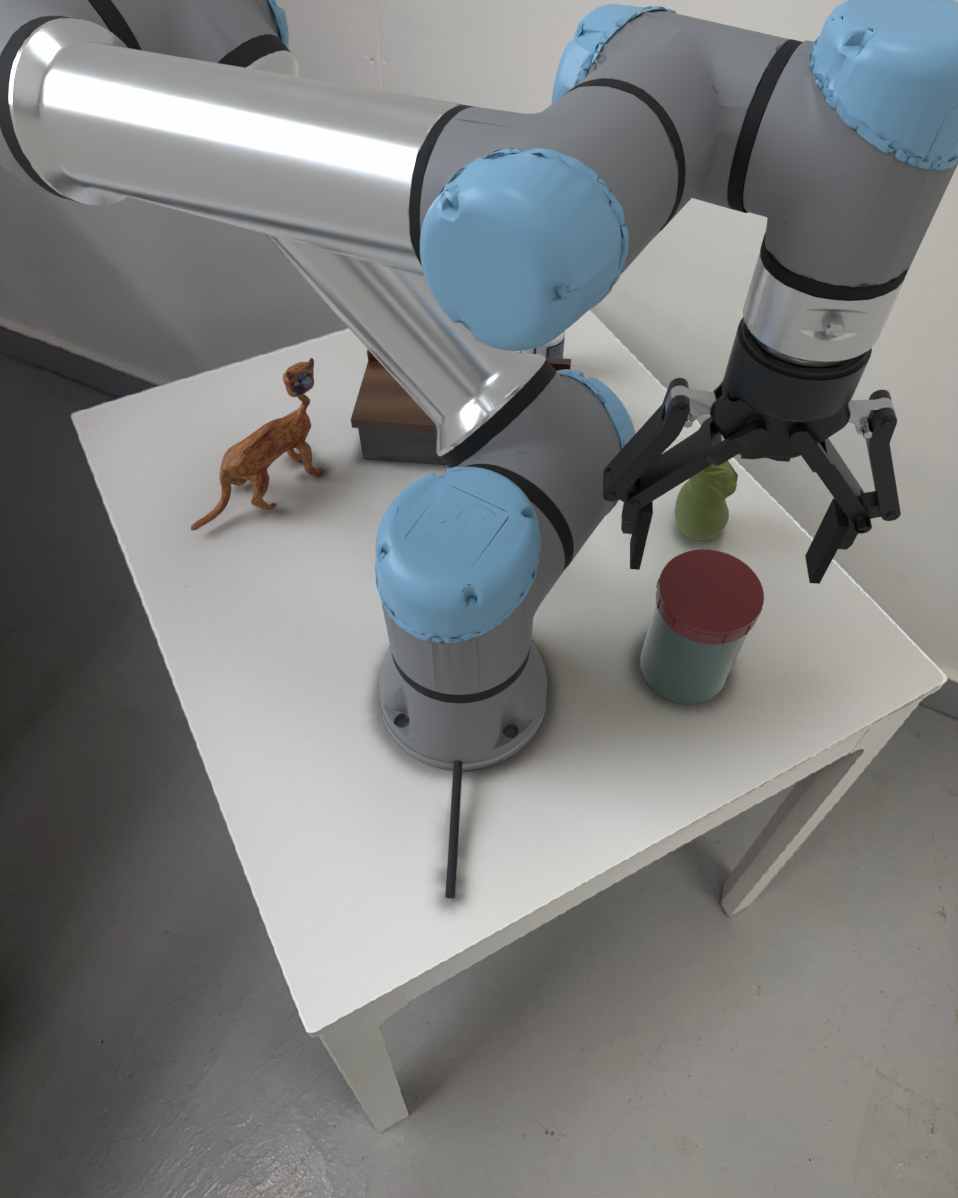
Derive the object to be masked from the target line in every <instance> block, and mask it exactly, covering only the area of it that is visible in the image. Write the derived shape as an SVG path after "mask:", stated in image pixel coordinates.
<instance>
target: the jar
mask: <svg viewBox="0 0 958 1198" xmlns="http://www.w3.org/2000/svg"><path fill="white" fill-rule="evenodd" d="M747 636H748V634H747V635H745V636H743V637H742V638H740V639H738V640H736V641H733V642H730V643H726V644H724V645H723V644H718V645H712V644H703V643H698V642H695V641H692V640H689V639H687V638H685V637H683V636H681V635H680V634H678V633H676V632H675V631H674V630H673V629H671V628H670V627H669V626H668V625H667V624H666V622H665V621H664V620H663V618H662V617H661V615H660V613H659V611H658V609H657V605H656V601H655V602H654V606H653V608H652V613H651V617H650V621H649V624H648V627H647V631H646V635H645V639H644V642H643V646H642V649H641V653H640V656H639V668H640V671H641V672H640V673H641V675H642V678H643V679H644V681H645V682H646V684H647V686H649V688H650V689H651V690H653V692H654V693H656V694H657V695H658V696H660V697H662V698H663V699H666V700H668V701H671V702H673V703H676V704H682V705H696V704H701V703H704V702H707V701H709V700H711V699H713V698H714V697H716V696H717V695H718V694H719V693H720V692H721V690H722V689H724V686H725V684H726V682H727V679H728V677H729V676H730V673H731V671H732V669H733V667H734V664H735V662H736V660H737V657H738V655H739V653H740V651H741V649H742V647H743V645H744V642H745V640H746V638H747Z"/></svg>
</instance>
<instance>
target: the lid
mask: <svg viewBox="0 0 958 1198" xmlns="http://www.w3.org/2000/svg"><path fill="white" fill-rule="evenodd" d="M655 588H656V591H655V602H656V605H657V609H658V611H659V613H660V615H661V617H662V618H663V620H664V621H665V622H666V624H667V625H668V626H669V627H670V628H671V629H673V630H674V631H675V632H676V633H678V634H680V635H681V636H683V637H685V638H687V639H689V640H692V641H695V642H698V643H703V644H712V645H718V644H723V645H724V644H726V643H730V642H733V641H736V640H738V639H740V638H742V637H743V636H745V635H747V636H748V634H749V632H750V631H752V629H753V628H754V626H755V624H756V622H757V620H758V619H759V617H760V615H761V612H762V611H763V606H764V602H765V593H764V588H763V585H762V583H761V580H760V579H759V577H758V575H757V574H756V572H755V571H754V570H753V569H752V568H751V567H750V566H749V565H748V564H747V563H745V562H744V561H742V560H741V559H739V558H738V557H736V556H734V555H732V554H729V553H727V552H724V551H720V550H715V549H709V548H707V549H706V548H705V549H704V548H703V549H702V548H699V549H692V550H687V551H684V552H682V553H679V554H678V555H675V556H674V557H673V558H672V559H670V560H669V561H668V562H667V563H666V564H665V566H664V567H663V569H662V570H661V573H660V575H659V577H658V578H657V582H656V586H655Z"/></svg>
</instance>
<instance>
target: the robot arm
mask: <svg viewBox="0 0 958 1198" xmlns="http://www.w3.org/2000/svg"><path fill="white" fill-rule="evenodd" d="M289 39H290V34H289V23H288V18H287V14H286V10H285V8H282V7H281V6H279V5H278V3H277V0H0V165H1V166H2V167H3V168H4V169H6V170H7V171H8V172H10V173H11V174H12V175H14V176H15V177H16V178H18V179H19V180H21V181H23V182H24V183H25V184H27V185H29V186H31V187H33V188H35V189H37V190H39V191H42V192H44V193H46V194H49V195H52V196H55V197H58V198H60V199H65V200H69V201H71V202H75V203H79V204H82V205H88V206H94V207H95V206H96V207H97V206H101V207H102V206H104V207H105V206H108V205H115V204H116V203H120V202H121V201H124V200H125V199H126V198H130V199H134V200H136V201H141V202H145V203H148V204H152V205H156V206H159V207H162V208H165V209H167V208H168V209H170V210H174V211H178V212H181V213H184V214H189V215H193V216H196V217H200V218H204V219H208V220H211V221H215V222H219V223H223V224H227V225H231V226H234V227H237V228H241V229H245V230H249V231H253V232H255V233H256V232H257V233H260V234H264V235H265V236H266V238H267V239H268V241H270V242H271V243H272V244H273V246H274V247H275V248H276V249H277V250H278V251H279V252H280V253H281V254H282V255H283V256H284V257H285V259H286V260H287V261H288V263H290V264H291V265H292V267H293V268H294V269H295V270H296V271H297V272H298V273H299V274H300V276H301V277H302V278H303V279H304V280H305V281H306V282H307V283H308V284H309V286H311V288H312V289H313V290H314V291H315V292H316V293H317V294H318V296H320V298H321V299H322V300H323V301H324V302H325V303H326V304H327V306H329V308H330V309H331V310H332V311H333V312H334V313H335V314H336V316H337V317H338V318H339V319H340V320H341V321H342V323H344V324H345V326H346V327H347V328H348V329H349V330H350V331H351V332H352V333H353V334H354V335H355V337H356V338H357V339H358V340H359V341H360V342H361V343H362V345H363V346H364V347H365V348H366V349H367V350H369V351H370V352H371V353H372V354H373V355H374V357H375V358H376V359H377V360H378V361H379V362H380V363H381V364H382V365H383V367H384V368H385V369H386V370H387V371H388V372H389V373H390V374H391V375H392V377H393V378H394V379H395V380H396V381H397V382H398V383H399V384H400V385H401V387H402V388H403V389H404V390H405V391H406V392H407V393H408V394H409V395H410V397H411V398H412V399H413V400H414V401H415V402H416V403H417V404H418V405H419V407H420V408H421V409H422V410H423V411H424V412H425V413H426V414H427V416H428V417H429V418H430V419H431V420H432V421H433V422H434V423H435V426H436V430H437V441H436V453H437V454H438V456H439V457H440V458H441V459H442V460H443V461H444V462H445V463H446V464H447V465H446V466H447V468H446V470H445V474H442V475H437V474H435V473H434V472H430V473H428V474H426V475H423V476H421V477H419V478H417V479H416V480H415V481H413V482H412V483H410V484H409V485H407V486H406V487H405V488H404V489H402V490H401V491H400V492H399V493H398V494H397V495H396V496H395V497H394V499H393V500H392V502H391V503H390V504H389V506H388V507H387V509H386V510H385V512H384V514H383V516H382V518H381V520H380V523H379V526H378V529H377V532H376V538H375V563H374V574H375V584H376V589H377V592H378V596H379V598H380V602H381V607H382V612H383V616H384V621H385V626H386V627H385V628H386V632H387V636H388V642H389V647H388V650H387V652H386V654H385V657H384V660H383V661H382V665H381V668H380V671H379V676H378V690H377V694H378V703H379V708H380V713H381V716H382V719H383V723H384V724H385V726H386V729H387V730H388V732H389V734H390V735H391V737H392V738H393V739H394V741H395V742H396V743H397V744H398V745H399V747H401V748H402V749H403V750H404V751H405V752H406V753H408V754H410V755H411V756H412V757H414V758H415V759H417V760H419V761H421V762H423V763H425V764H427V765H430V766H433V767H435V768H436V767H437V768H441V769H443V770H444V769H445V770H451V771H452V784H451V798H450V799H451V800H450V818H449V833H448V834H449V835H448V849H447V863H446V865H447V867H446V880H445V894H444V897H445V898H446V899H455V898H456V885H457V871H458V870H457V869H458V855H459V853H458V852H459V836H460V835H459V834H460V816H461V800H462V799H461V798H462V780H463V771H471V770H479V769H484V768H488V767H491V766H494V765H497V764H499V763H502V762H504V761H506V760H507V759H509V758H511V757H512V756H514V755H516V754H517V753H518V752H520V751H521V750H522V749H523V748H524V747H525V746H526V745H527V744H529V743H530V741H531V740H532V739H533V737H534V736H535V735H536V733H537V732H538V730H539V728H540V726H541V724H542V723H543V720H544V717H545V714H546V710H547V704H548V696H549V682H548V676H547V672H546V665H545V663H544V660H543V658H542V656H541V654H540V652H539V650H538V648H537V646H536V644H535V642H534V641H533V638H532V637H533V625H534V618H535V615H536V613H537V611H538V609H539V608H540V605H541V604H542V603H543V601H544V600H545V598H546V597H547V595H548V594H550V592H551V590H552V589H553V588H554V586H555V584H556V583H557V582H558V581H559V579H560V577H561V576H562V575H563V573H564V572H565V571H566V569H568V567H569V566H570V565H571V563H572V562H573V561H574V559H575V558H576V556H577V555H578V554H579V552H580V551H581V550H582V548H583V547H584V545H585V544H586V542H587V541H588V540H589V539H590V537H591V535H592V534H593V533H594V532H595V530H596V529H597V528H598V526H599V525H600V523H601V522H602V521H603V520H604V518H605V517H606V516H608V515H609V514H610V513H611V512H612V511H613V509H614V508H615V507H616V506H617V504H618V502H619V501H620V502H622V503H623V504H622V510H621V514H620V515H621V516H620V517H621V521H620V524H621V525H620V529H621V533H622V534H623V535H625V534H626V535H631V536H630V541H629V570H638V571H640V570H641V566H642V561H643V557H644V553H645V548H646V546H647V545H646V544H647V540H648V535H649V531H650V527H651V524H652V519H653V515H654V504H653V503H654V501H655V500H657V499H659V498H661V497H662V496H663V495H665V494H667V493H668V492H670V491H671V490H673V489H674V488H676V487H678V486H679V485H681V484H683V483H684V482H687V481H688V480H689V478H691V477H693V476H694V475H696V474H697V473H699V472H701V471H702V470H704V469H705V468H707V467H709V466H710V465H715V466H719V465H721V464H723V463H724V462H726V461H728V462H729V460H731V459H733V458H734V457H736V456H738V455H739V456H740V459H742V460H760V459H768V460H772V461H775V462H785V463H790V461H791V459H795V458H798V457H801V458H802V459H803V461H804V462H805V463H806V465H807V466H808V468H809V469H810V471H811V472H812V473H816V475H817V476H818V477H819V479H820V480H821V481H822V483H823V484H824V486H825V487H826V489H827V490H828V491H829V493H830V494H831V496H832V497H833V498H832V500H831V502H830V503H829V505H828V508H827V510H826V512H825V513H824V516H823V518H822V520H821V522H820V524H819V526H818V528H817V530H816V532H815V534H814V536H813V538H812V541H811V542H810V545H809V547H808V549H807V551H806V553H805V555H804V557H805V564H806V570H807V577H808V583H809V584H817V585H818V584H821V583H822V580H823V579H824V576H825V575H826V573H827V571H828V569H829V567H830V566H831V563H832V561H833V559H834V558H835V556H836V554H837V552H838V550H845V551H847V550H848V549H850V548H851V547H852V546H853V544H854V542H855V540H856V538H857V537H858V535H863V534H867V533H869V532H870V531H872V529H873V525H872V521H871V520H872V519H876V518H881V519H882V521H885V522H893V521H896V520H898V519H899V518H900V517H901V514H902V512H901V507H900V499H899V493H898V489H897V488H898V486H897V481H896V475H895V469H894V462H893V455H892V449H891V444H890V443H891V441H892V438H893V435H894V433H895V430H896V427H897V424H898V418H897V414H896V411H895V407H894V404H893V400H892V396H891V393H890V392H889V390H887V389H877V390H875V391H874V392H872V393H871V394H870V395H869V397H868V399H853V398H854V397H853V396H854V394H855V392H856V390H857V388H858V386H859V383H860V381H861V379H862V377H863V375H864V373H865V370H866V368H867V366H868V363H869V361H870V359H871V357H872V353H873V347H874V345H875V344H876V343H877V342H878V340H879V338H880V335H881V333H882V331H883V329H884V326H885V325H886V322H887V320H888V319H889V316H890V314H891V311H892V309H893V306H894V304H895V302H896V300H897V298H898V296H899V294H900V291H901V289H902V287H903V284H904V283H905V280H906V277H907V274H908V272H909V270H910V268H911V266H912V264H913V261H914V259H915V258H916V255H917V253H918V251H919V249H920V247H921V245H922V243H923V240H924V238H925V236H926V234H927V231H928V229H929V227H930V225H931V223H932V221H933V218H934V216H935V215H936V213H937V211H938V208H939V206H940V204H941V202H942V199H943V197H944V195H945V193H946V191H947V189H948V186H949V185H950V183H951V180H952V178H953V176H954V174H955V171H956V170H957V167H958V1H956V0H845V1H843V2H841V3H840V4H838V5H837V6H835V7H834V9H832V11H831V12H830V14H829V15H828V16H827V17H826V19H825V21H824V23H823V27H822V28H821V32H820V34H819V35H818V36H817V37H816V38H815V40H814V41H813V40H807V39H806V40H804V41H801V40H797V39H793V38H787V37H781V36H778V35H773V34H768V33H765V32H760V31H756V30H751V29H746V28H742V27H738V26H732V25H729V24H724V23H719V22H715V21H711V20H706V19H703V18H697V17H693V16H689V15H684V14H680V13H677V12H676V10H674V9H671V8H666V7H664V6H661V5H649V6H646V7H643V6H635V5H627V4H618V3H607V4H603V5H599V6H598V7H597V6H596V7H595V8H594V9H592V10H591V11H589V12H588V13H587V14H586V15H585V16H584V17H583V18H582V19H581V20H580V21H579V23H578V24H577V26H576V29H575V32H574V36H573V40H570V41H568V43H567V44H566V45H565V47H564V49H563V52H562V55H561V57H560V59H559V63H558V65H557V69H556V73H555V78H554V82H553V88H552V94H551V101H550V102H551V103H550V105H549V106H547V107H546V108H545V109H543V110H542V111H539V112H533V113H522V112H516V111H510V110H502V109H494V108H488V107H481V106H474V105H468V104H461V103H458V102H452V101H447V100H440V99H435V98H429V97H421V96H417V95H416V96H415V95H410V94H404V93H399V92H391V91H386V90H381V89H374V88H368V87H363V86H357V85H352V84H351V85H349V84H345V83H338V82H333V81H327V80H321V79H315V78H309V77H304V76H300V64H299V60H298V59H297V58H296V57H295V55H294V54H293V53H292V52H291V50H290V49H289V43H290V42H289V41H290V40H289ZM692 199H694V200H698V201H701V202H704V203H708V204H711V205H715V206H719V207H721V208H725V209H729V210H733V211H737V212H740V213H744V214H749V213H750V214H753V215H756V216H761V217H764V218H767V219H766V227H765V232H764V235H763V238H762V241H761V245H760V248H759V253H758V256H757V260H756V263H755V266H754V271H753V273H752V277H751V281H750V284H749V286H748V290H747V294H746V297H745V301H744V303H743V308H742V318H741V319H740V320H739V323H738V325H737V328H736V333H735V336H734V340H733V343H732V346H731V350H730V354H729V358H728V361H727V364H726V368H725V372H724V374H723V375H724V376H723V379H722V381H721V382H720V383H719V384H718V386H717V387H715V389H714V390H713V391H708V390H707V391H706V390H700V389H694V388H690V387H689V386H690V385H689V381H688V380H687V379H685V378H684V377H675V378H674V379H672V380H670V382H669V384H668V386H667V389H666V392H665V395H664V398H663V400H662V403H661V404H660V405H659V407H658V408H657V409H656V410H654V411H655V412H653V414H652V415H650V417H649V418H648V419H647V420H646V421H645V422H644V423H643V425H642V426H641V427H640V428H639V430H637V431H636V429H635V426H634V423H633V421H632V418H631V416H630V413H629V412H628V409H627V408H626V406H625V405H624V403H623V402H622V400H621V399H620V398H619V396H618V395H616V393H615V392H614V391H613V390H612V389H611V388H610V387H609V386H608V385H606V384H605V383H604V382H603V381H601V380H600V379H598V378H596V377H594V376H593V375H592V376H589V377H586V376H585V375H584V372H582V371H580V370H576V369H571V368H570V369H564V370H559V371H556V370H555V369H554V368H553V367H552V365H551V364H550V363H549V362H548V361H547V359H546V358H545V357H544V356H543V355H538V354H524V353H520V351H523V350H529V349H534V348H538V347H540V346H543V345H545V344H547V343H549V342H551V341H552V340H554V339H555V338H557V337H558V336H559V335H560V334H562V333H563V332H564V331H565V332H566V331H567V330H568V329H569V328H571V327H572V326H573V325H574V324H575V323H576V322H577V321H578V320H580V319H581V318H582V317H583V316H585V314H586V313H587V312H589V311H590V310H592V309H593V308H595V307H596V306H597V305H599V303H601V302H602V301H603V300H604V299H605V298H606V297H607V296H608V295H609V294H610V293H611V292H612V290H613V287H614V286H615V284H617V282H618V281H619V280H620V278H621V275H622V274H624V272H625V271H626V270H627V269H628V268H629V266H631V264H632V263H633V262H634V261H635V260H636V259H637V258H638V256H640V254H641V253H642V252H643V251H644V249H646V247H647V246H648V245H649V244H650V243H651V242H652V241H653V240H654V238H656V236H657V235H658V234H659V233H660V232H661V231H663V230H664V229H665V228H666V227H667V226H668V224H669V223H671V221H672V220H673V219H674V218H675V217H676V216H677V215H678V214H679V212H681V210H682V209H683V208H684V207H685V206H686V205H687V204H688V203H689V202H690V201H691V200H692ZM705 414H706V415H709V417H708V418H706V419H705V420H704V421H702V423H701V425H700V427H699V428H698V430H696V431H694V432H693V433H692V434H690V435H688V436H687V437H685V438H684V439H682V440H681V441H680V442H678V443H676V444H675V445H674V446H672V447H670V446H671V445H672V444H673V443H674V442H675V441H676V439H678V437H679V436H680V434H681V433H682V431H683V429H684V428H686V429H687V428H691V427H692V426H693V424H694V423H695V421H696V420H697V418H699V417H700V416H702V415H705ZM848 423H850V424H853V425H854V428H855V431H856V433H857V434H859V435H862V437H863V438H864V439H865V443H866V449H867V455H868V461H869V464H870V470H871V477H872V481H873V486H874V490H873V491H866V492H865V491H864V489H863V487H862V486H861V485H860V483H859V482H858V479H856V477H855V475H854V474H853V473H852V471H851V469H850V468H849V466H848V465H847V464H846V462H845V460H844V459H843V457H842V456H841V455H840V454H839V453H840V452H838V450H837V449H836V447H835V446H834V445H833V443H832V441H831V440H830V438H831V437H832V436H834V435H835V434H837V433H839V432H840V431H841V430H842V429H844V428H845V427H846V426H847V425H848ZM722 437H723V439H722ZM669 447H670V448H669ZM668 448H669V449H668Z"/></svg>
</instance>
